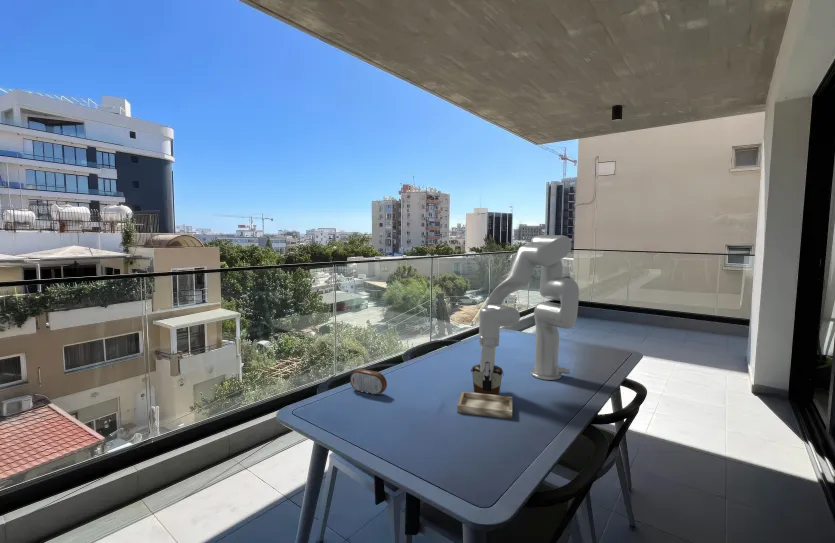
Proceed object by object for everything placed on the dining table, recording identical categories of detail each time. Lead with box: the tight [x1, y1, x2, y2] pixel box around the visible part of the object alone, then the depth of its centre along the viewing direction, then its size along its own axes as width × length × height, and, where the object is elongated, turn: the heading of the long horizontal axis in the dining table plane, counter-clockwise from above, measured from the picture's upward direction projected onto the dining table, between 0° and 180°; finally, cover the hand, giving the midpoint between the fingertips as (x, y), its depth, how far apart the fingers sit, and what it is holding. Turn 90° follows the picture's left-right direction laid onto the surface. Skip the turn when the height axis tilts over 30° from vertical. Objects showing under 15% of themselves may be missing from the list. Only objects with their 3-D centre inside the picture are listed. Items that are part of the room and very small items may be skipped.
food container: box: [470, 363, 505, 395], centre depth 148 cm, size 12×6×10 cm, turn 71°
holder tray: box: [456, 391, 513, 420], centre depth 134 cm, size 18×12×2 cm, turn 76°
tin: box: [349, 368, 388, 396], centre depth 146 cm, size 15×3×8 cm, turn 65°
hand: (487, 386), depth 148 cm, fingers closed on food container, 5 cm apart
